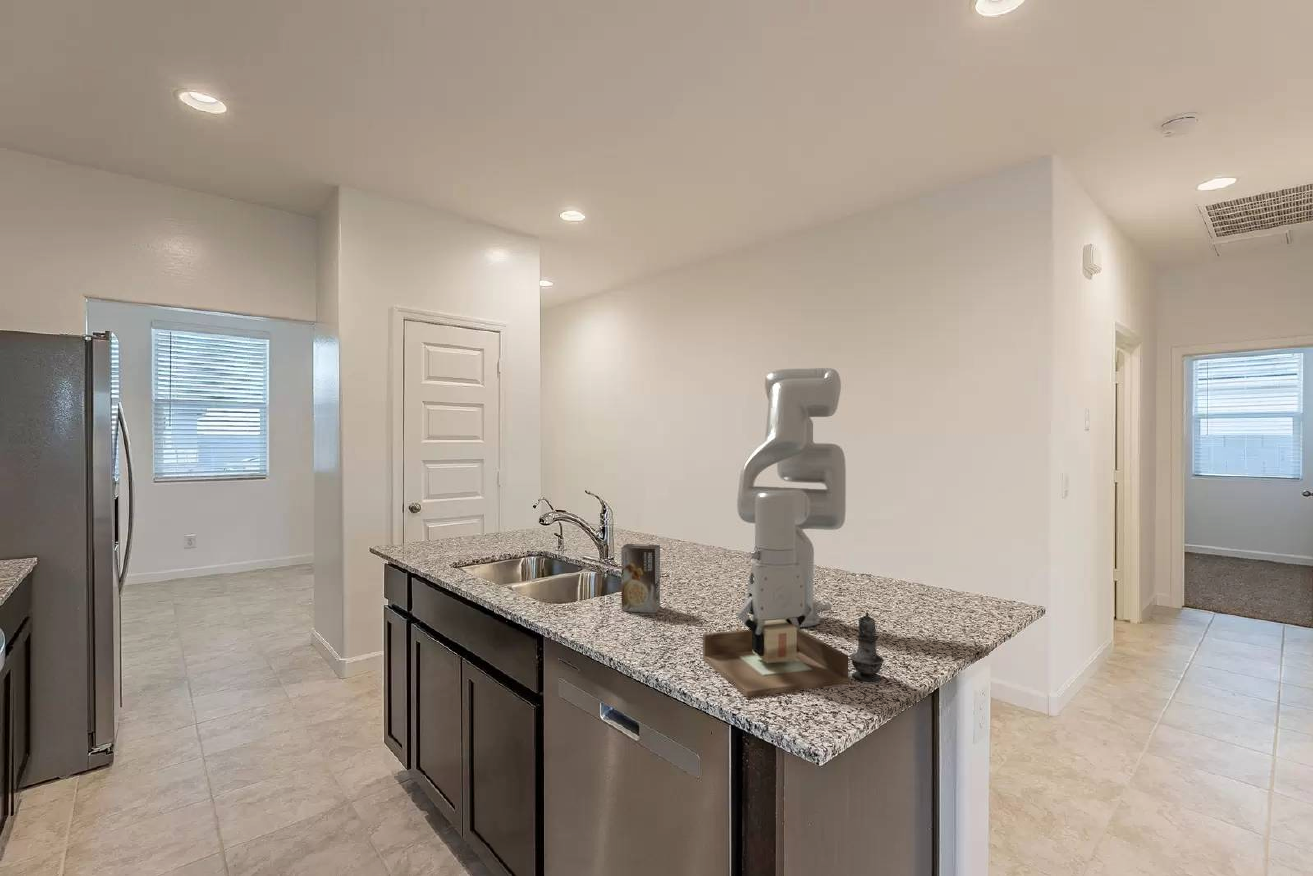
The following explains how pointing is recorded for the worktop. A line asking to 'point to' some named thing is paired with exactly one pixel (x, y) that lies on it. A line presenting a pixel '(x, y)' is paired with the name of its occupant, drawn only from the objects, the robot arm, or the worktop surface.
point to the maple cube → (779, 641)
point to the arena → (774, 664)
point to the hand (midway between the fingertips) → (774, 651)
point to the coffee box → (640, 578)
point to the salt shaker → (866, 653)
